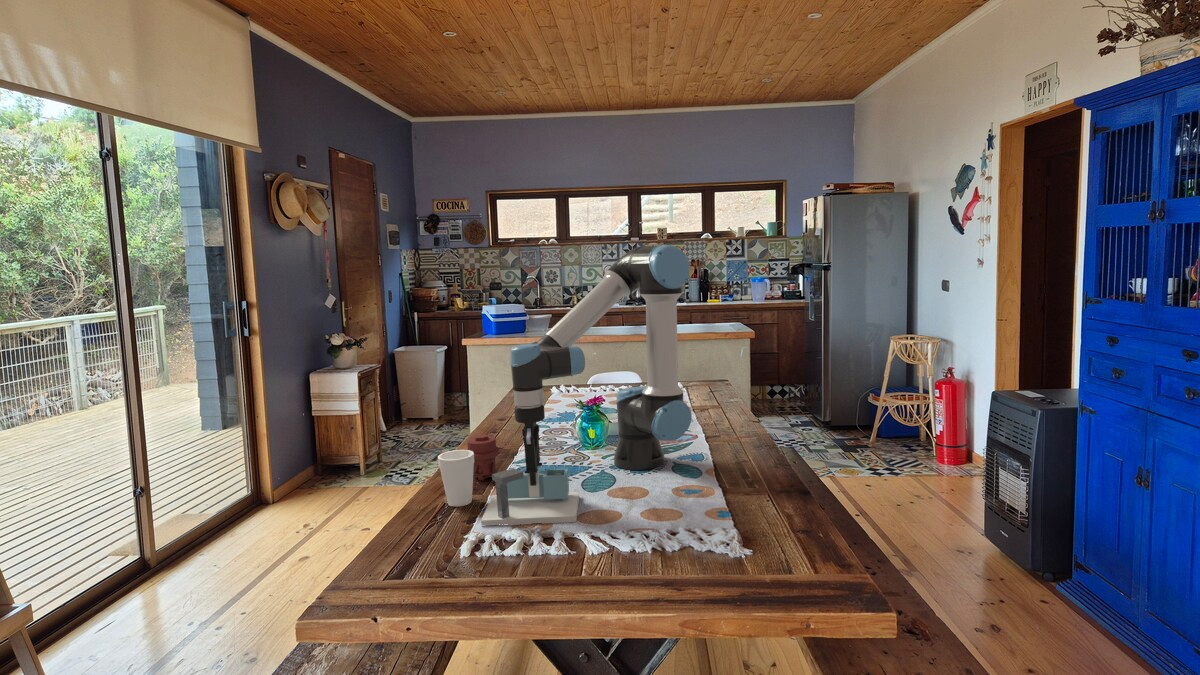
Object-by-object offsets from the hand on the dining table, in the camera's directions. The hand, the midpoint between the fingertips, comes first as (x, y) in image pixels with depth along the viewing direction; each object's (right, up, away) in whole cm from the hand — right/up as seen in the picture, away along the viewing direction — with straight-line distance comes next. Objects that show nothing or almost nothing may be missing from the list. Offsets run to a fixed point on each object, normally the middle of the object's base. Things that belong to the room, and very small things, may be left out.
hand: (535, 493), depth 187 cm
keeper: (-5, -5, -9) cm, 11 cm away
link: (0, 0, 0) cm, 1 cm away
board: (0, -4, -4) cm, 5 cm away
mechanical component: (-17, -1, +27) cm, 32 cm away
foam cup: (-21, -4, +6) cm, 22 cm away
